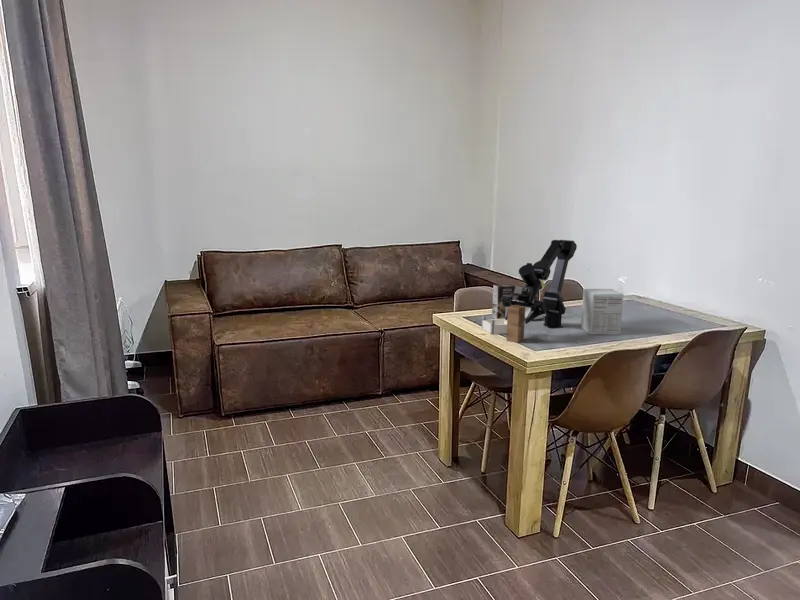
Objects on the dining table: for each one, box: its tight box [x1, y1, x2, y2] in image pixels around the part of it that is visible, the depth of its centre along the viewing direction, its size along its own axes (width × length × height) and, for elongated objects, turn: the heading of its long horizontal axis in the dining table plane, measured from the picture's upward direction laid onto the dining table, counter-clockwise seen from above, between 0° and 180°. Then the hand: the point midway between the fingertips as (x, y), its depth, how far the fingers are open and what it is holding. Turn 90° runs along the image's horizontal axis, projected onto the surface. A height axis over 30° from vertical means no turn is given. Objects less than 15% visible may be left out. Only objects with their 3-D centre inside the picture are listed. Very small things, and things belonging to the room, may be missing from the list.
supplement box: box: [580, 288, 625, 336], centre depth 258 cm, size 13×13×18 cm
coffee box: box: [491, 283, 517, 319], centre depth 279 cm, size 9×6×16 cm
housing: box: [481, 314, 507, 335], centre depth 258 cm, size 11×11×6 cm
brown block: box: [505, 305, 526, 344], centre depth 241 cm, size 5×5×14 cm
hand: (515, 321), depth 241 cm, fingers open, 9 cm apart
